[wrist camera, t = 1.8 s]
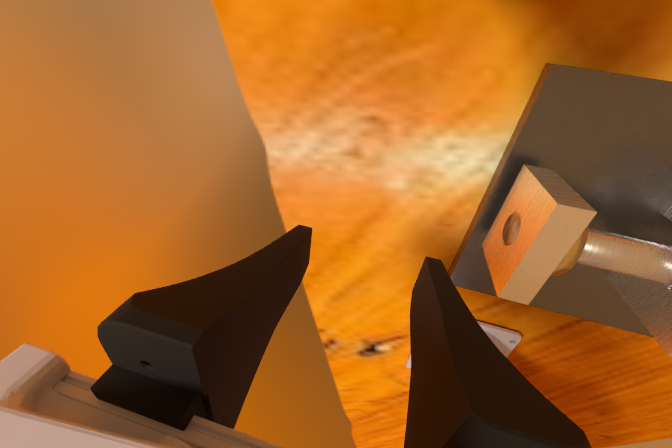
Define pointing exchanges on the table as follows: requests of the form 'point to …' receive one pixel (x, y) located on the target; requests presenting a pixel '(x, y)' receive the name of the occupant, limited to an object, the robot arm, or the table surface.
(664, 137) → the bearing bracket
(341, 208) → the table surface
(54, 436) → the robot arm
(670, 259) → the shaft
